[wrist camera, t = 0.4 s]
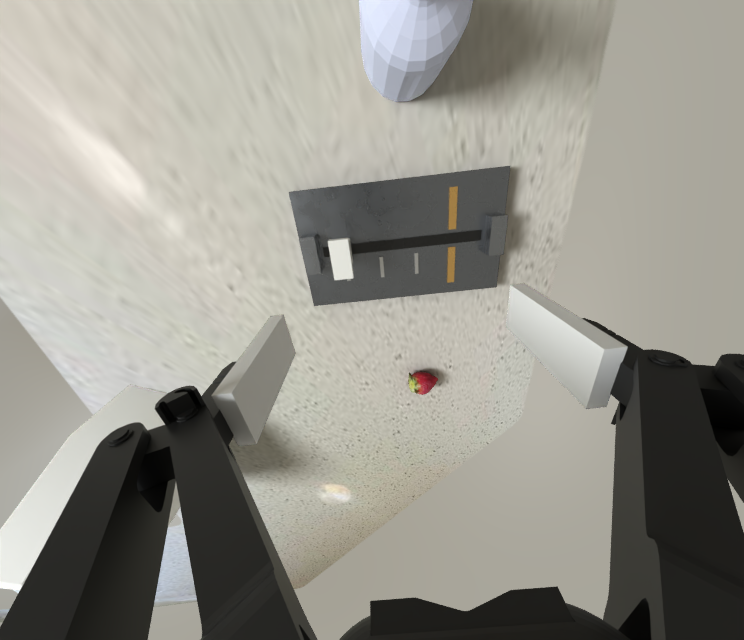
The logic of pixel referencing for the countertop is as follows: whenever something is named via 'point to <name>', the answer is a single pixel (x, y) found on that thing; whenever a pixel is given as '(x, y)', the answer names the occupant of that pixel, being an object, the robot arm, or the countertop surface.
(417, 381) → the fruit
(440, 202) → the console
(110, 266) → the countertop surface
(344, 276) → the fader
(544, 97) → the countertop surface
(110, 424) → the white toy house
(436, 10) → the soap bottle
